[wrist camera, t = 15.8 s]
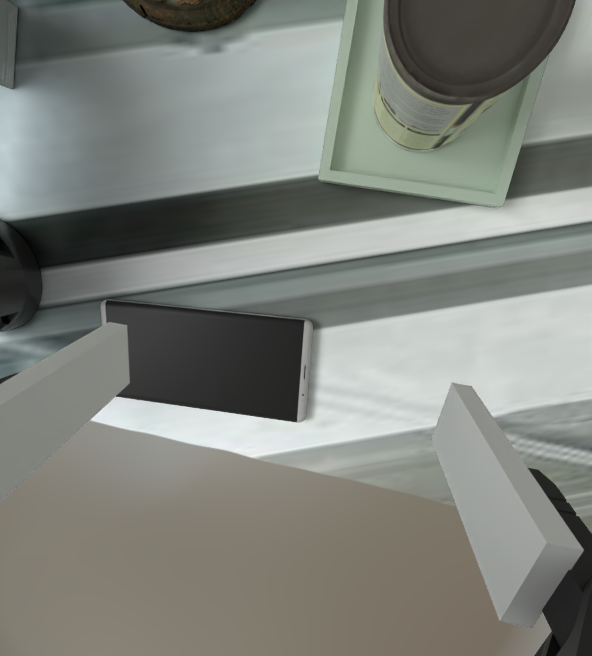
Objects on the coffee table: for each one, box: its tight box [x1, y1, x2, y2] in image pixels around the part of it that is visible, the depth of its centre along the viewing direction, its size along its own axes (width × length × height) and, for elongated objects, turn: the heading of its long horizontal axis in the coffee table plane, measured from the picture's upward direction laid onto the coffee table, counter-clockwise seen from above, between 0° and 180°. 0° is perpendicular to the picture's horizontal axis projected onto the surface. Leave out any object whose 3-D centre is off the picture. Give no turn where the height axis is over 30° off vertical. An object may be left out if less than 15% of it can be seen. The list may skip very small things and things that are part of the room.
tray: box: [318, 0, 549, 208], centre depth 33 cm, size 18×18×2 cm
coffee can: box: [372, 0, 576, 152], centre depth 26 cm, size 10×10×14 cm
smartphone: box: [101, 299, 313, 422], centre depth 44 cm, size 13×27×2 cm, turn 86°
